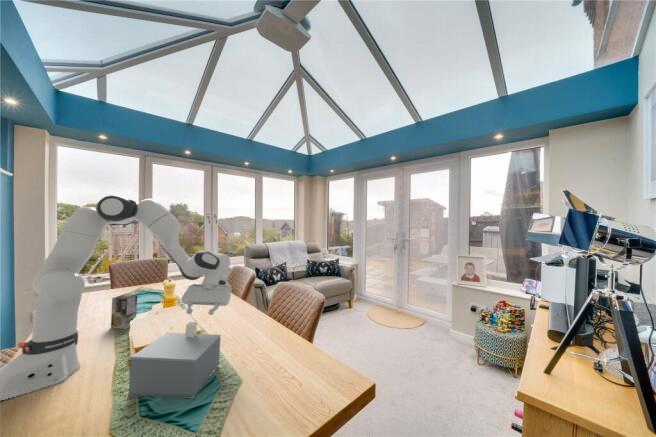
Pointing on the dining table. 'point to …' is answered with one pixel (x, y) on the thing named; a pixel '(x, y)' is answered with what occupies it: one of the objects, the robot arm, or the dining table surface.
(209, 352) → the carton
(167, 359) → the grey box lid
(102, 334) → the dining table surface
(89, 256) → the robot arm
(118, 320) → the coffee box
